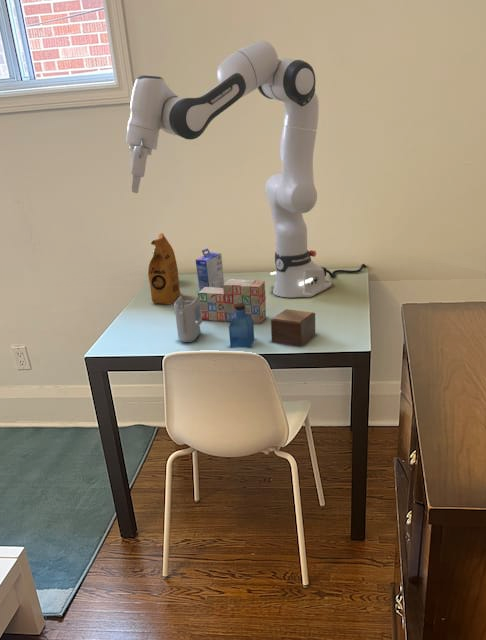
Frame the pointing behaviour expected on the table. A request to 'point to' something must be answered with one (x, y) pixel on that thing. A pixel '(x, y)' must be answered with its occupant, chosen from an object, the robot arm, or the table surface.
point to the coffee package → (163, 273)
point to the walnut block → (293, 327)
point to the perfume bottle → (241, 328)
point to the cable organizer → (188, 319)
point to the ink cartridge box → (210, 270)
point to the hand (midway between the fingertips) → (134, 191)
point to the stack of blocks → (233, 300)
